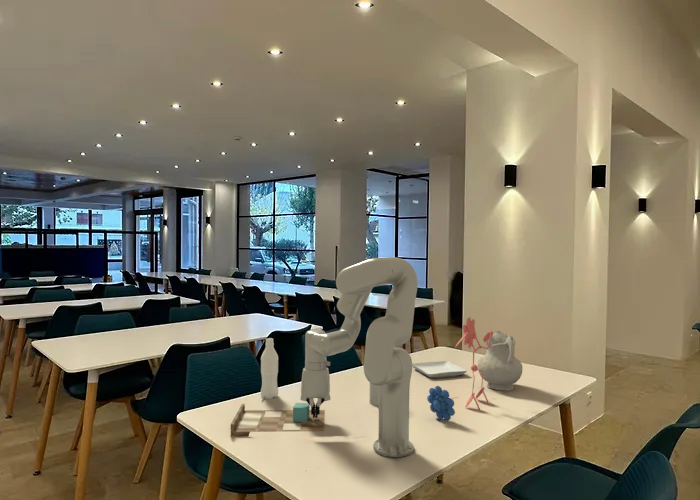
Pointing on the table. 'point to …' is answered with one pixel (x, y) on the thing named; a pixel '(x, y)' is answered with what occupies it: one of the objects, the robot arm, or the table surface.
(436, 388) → the grapes
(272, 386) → the water bottle
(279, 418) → the board
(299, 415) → the block
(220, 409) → the table surface
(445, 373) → the salad plate
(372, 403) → the cup
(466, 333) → the pink stick figure
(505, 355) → the ceramic pitcher
